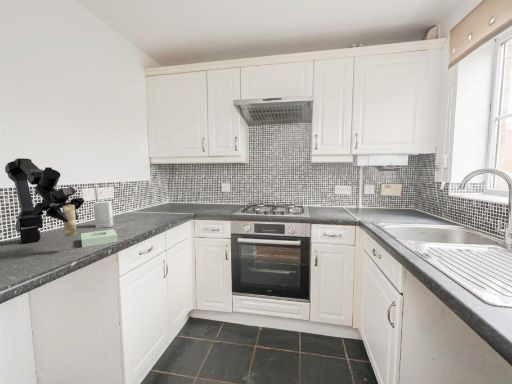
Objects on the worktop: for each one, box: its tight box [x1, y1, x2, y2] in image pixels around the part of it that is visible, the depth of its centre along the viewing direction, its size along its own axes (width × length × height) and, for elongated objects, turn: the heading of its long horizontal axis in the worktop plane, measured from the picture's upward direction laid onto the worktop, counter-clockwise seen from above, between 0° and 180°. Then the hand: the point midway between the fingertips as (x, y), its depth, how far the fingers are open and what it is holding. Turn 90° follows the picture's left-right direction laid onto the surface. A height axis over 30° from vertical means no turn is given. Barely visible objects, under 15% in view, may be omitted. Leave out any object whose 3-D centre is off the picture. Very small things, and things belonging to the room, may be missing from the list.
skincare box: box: [93, 200, 114, 229], centre depth 145 cm, size 8×7×16 cm
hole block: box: [80, 228, 119, 248], centre depth 115 cm, size 14×14×4 cm
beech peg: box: [62, 205, 78, 238], centre depth 100 cm, size 4×4×13 cm
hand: (72, 220), depth 100 cm, fingers closed on beech peg, 4 cm apart
